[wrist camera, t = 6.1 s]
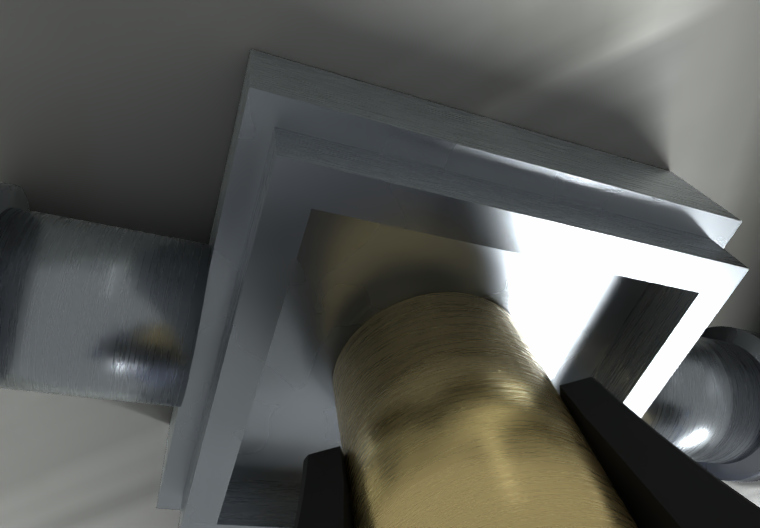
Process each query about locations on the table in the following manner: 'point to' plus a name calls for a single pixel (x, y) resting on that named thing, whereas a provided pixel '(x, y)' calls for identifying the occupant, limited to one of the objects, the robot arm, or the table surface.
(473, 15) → the table surface
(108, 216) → the table surface
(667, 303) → the valve body
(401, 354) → the brass cylinder
